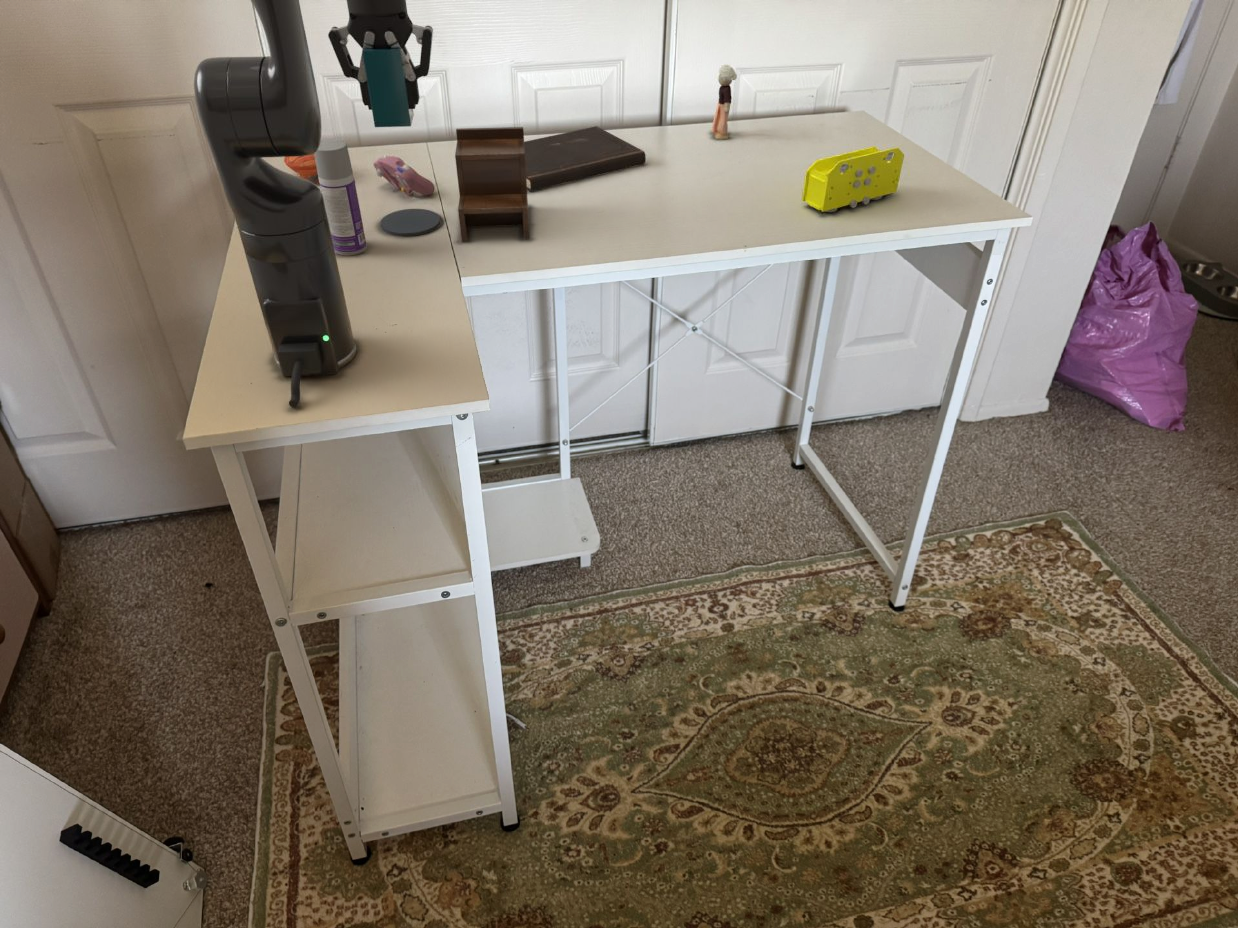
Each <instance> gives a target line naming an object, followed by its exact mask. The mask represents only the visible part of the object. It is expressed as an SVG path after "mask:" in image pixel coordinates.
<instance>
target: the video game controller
mask: <svg viewBox="0 0 1238 928" xmlns="http://www.w3.org/2000/svg"><path fill="white" fill-rule="evenodd" d="M373 168H375V173H376V175H377V176H378V177H379V178H382V177H383V178H384V179H385V180H386V181H387V182H388V183H389V184H390V185H391V186H392V187H393V188H394V189H396V190H399V189H400V190H401V192H402V193H405V194H406V195H407V196H410V195H411V194H412V193H413V192H414V193H417V194H419V195H424V196H431V195H433V194H434V193H435V189H436V188H435V184H434V183H433V181H431V180H430V179H428V178H426V177H424V176H423V175H421V174H419V172H417V171H416V170H415V169H414V168H413V167H411V166H410V165H408V164H407V163H406V162H405V161H404V160H403V159H402V158H400V157H398V156H394V155H390V156H388V155H386V154H384V155H383V156H382V157H379V158H378V159H377V160H376V161H375V162H374V163H373Z"/></svg>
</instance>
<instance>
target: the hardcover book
mask: <svg viewBox="0 0 1238 928" xmlns="http://www.w3.org/2000/svg"><path fill="white" fill-rule="evenodd" d="M524 147H525V163H526V180H527V192H534V191H538V190H543V189H546V188H551V187H555V186H559V185H563V184H567V183H571V182H575V181H580V180H583V179H588V178H592V177H595V176H601V175H604V174H608V173H612V172H615V171H621V170H625V169H629V168H633V167H637V166H641V165H644V164H645V163H646V160H647V156H646V152H645V151H644V150H643V149H641V148H639V147H638V146H635V145H633V144H631V143H629V142H627V141H625V140H624V139H622V138H620V137H618V136H616V135H615V134H612V133H610V132H608V131H607V130H605V129H602V128H601V127H599V126H597V125H596V126H591V127H587V128H586V127H585V128H582V129H578V130H573V131H569V132H563V133H559V134H554V135H553V134H552V135H548V136H544V137H540V138H535V139H530V140H526V141H525V140H524Z"/></svg>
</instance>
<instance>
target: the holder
mask: <svg viewBox="0 0 1238 928" xmlns="http://www.w3.org/2000/svg"><path fill="white" fill-rule="evenodd" d="M403 52H404V48H403ZM362 54H363V60H364V66H365V72H366V78H367V84H368V90H369V95H370V101H371V107H372V110H371V112H372V118H373V125H374V128H400V127H407V128H408V127H412V124H413V120H414V115H415V113H414V109H410V106H409V99H408V92H407V85H406V81H407V77H406V75H405V71H404V65H403V61H402V54H401V48H396V49H361V55H362Z"/></svg>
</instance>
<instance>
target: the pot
mask: <svg viewBox="0 0 1238 928" xmlns="http://www.w3.org/2000/svg"><path fill="white" fill-rule="evenodd" d="M283 162H284V164H285V165H286V166H287V168H289V169H290V170H292V171H293V172H294V173H296V174H298V175H299V177H301V178H304V179H306V180H309V177H312V176H314V177H315V176H318V172H317V167H316V162H315V156H314V154H312V155H308V156H296V157H283Z"/></svg>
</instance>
